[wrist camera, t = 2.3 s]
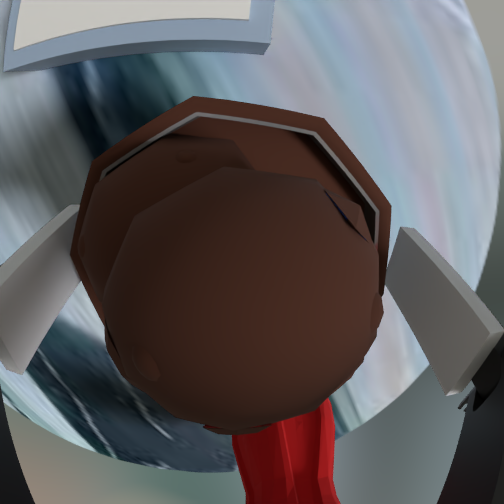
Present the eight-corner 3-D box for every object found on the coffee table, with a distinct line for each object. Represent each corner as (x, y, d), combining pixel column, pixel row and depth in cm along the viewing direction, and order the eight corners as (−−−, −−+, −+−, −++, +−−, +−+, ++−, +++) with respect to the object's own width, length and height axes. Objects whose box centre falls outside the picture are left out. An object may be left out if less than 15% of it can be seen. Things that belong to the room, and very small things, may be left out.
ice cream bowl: (112, 157, 17) (-79, 323, 4) (281, 66, 14) (465, -20, 1) (198, 287, 21) (170, 506, 8) (348, 221, 19) (473, 427, 6)
